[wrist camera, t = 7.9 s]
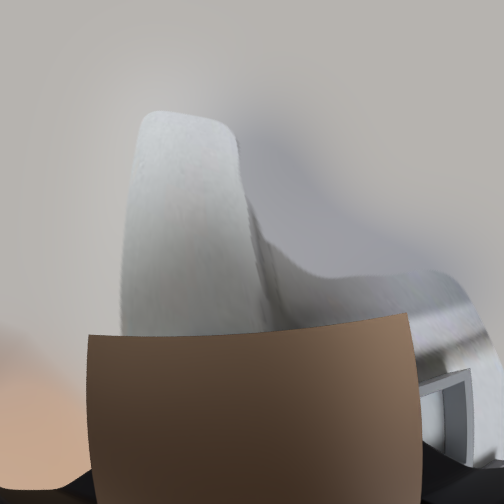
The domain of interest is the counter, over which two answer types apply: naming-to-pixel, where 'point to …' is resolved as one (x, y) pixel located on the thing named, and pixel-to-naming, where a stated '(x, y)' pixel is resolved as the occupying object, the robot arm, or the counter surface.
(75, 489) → the robot arm
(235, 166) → the counter surface
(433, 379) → the sleeve
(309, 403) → the walnut block
